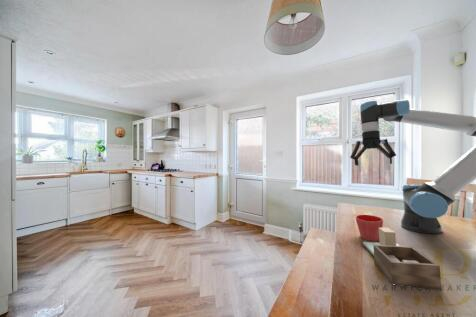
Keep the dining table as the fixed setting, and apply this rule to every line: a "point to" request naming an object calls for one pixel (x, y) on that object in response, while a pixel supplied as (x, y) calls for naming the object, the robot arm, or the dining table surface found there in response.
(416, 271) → the crate
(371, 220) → the flower pot
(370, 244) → the lid
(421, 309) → the dining table surface
